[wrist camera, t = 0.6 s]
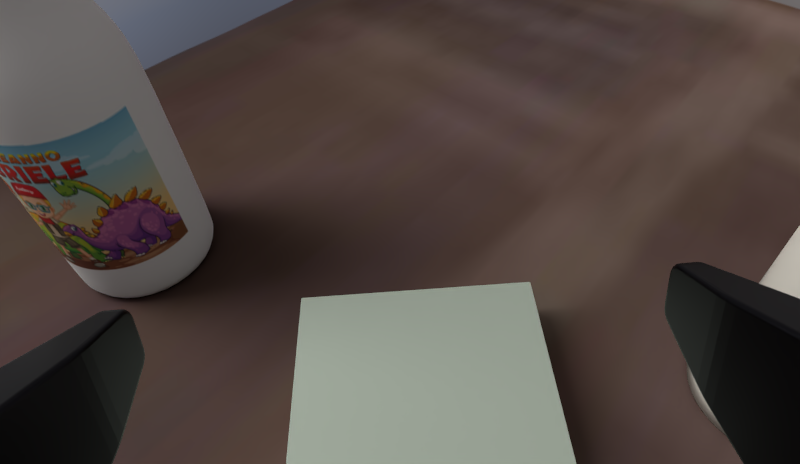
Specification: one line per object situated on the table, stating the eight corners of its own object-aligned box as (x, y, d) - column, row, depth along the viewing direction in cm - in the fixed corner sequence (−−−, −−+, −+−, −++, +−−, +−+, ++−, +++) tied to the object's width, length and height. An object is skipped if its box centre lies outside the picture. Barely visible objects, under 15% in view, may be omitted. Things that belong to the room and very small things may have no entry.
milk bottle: (115, 202, 35) (-120, -176, 21) (231, 202, 35) (75, -188, 20) (58, 302, 30) (-309, -109, 15) (194, 304, 30) (-54, -122, 15)
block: (581, 553, 21) (595, 537, 19) (291, 572, 21) (277, 558, 19) (524, 310, 28) (529, 281, 26) (310, 325, 28) (301, 298, 27)
